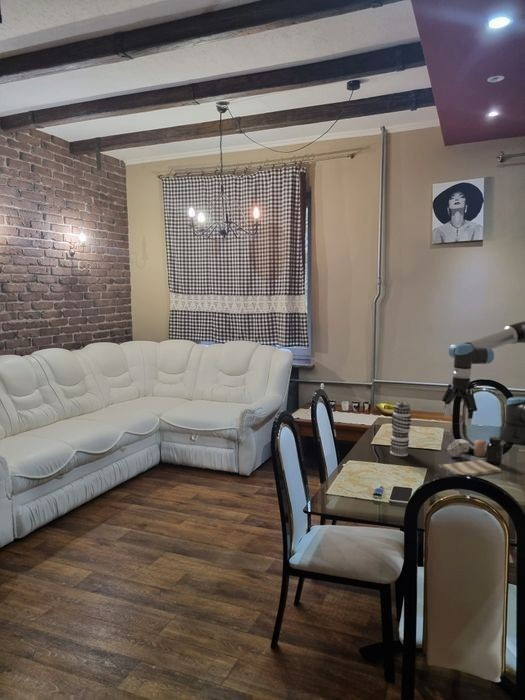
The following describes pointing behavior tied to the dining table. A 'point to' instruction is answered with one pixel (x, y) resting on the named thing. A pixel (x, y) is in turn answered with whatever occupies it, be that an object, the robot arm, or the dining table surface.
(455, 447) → the game die
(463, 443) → the grey block
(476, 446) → the terracotta cylinder
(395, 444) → the tower model
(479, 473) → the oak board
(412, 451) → the dining table surface
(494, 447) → the supplement bottle
